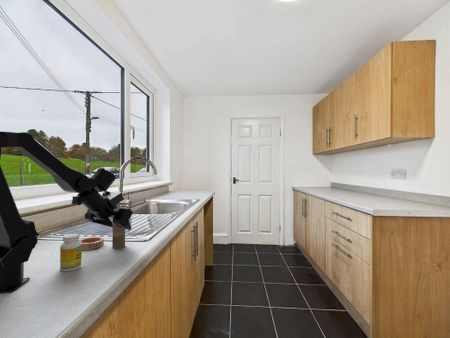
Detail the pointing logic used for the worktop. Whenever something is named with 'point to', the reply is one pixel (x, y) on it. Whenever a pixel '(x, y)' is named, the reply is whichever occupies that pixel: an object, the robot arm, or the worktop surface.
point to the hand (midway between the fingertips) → (121, 227)
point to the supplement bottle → (70, 253)
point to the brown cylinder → (118, 237)
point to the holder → (92, 243)
